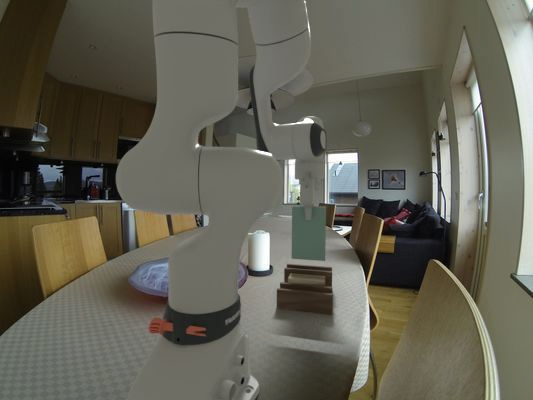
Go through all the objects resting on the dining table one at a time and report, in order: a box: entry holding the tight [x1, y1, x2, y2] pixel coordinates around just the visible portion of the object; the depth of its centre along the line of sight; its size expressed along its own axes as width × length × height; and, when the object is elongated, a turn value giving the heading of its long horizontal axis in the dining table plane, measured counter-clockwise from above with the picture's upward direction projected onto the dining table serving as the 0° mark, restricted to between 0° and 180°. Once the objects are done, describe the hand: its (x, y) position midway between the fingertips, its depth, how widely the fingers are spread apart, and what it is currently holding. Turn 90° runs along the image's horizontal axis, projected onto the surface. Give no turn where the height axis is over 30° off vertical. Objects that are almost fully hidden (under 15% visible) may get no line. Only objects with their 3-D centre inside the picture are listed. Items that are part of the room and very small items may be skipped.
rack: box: [276, 263, 334, 316], centre depth 73 cm, size 17×14×8 cm
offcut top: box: [288, 273, 325, 286], centre depth 73 cm, size 4×10×2 cm, turn 76°
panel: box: [291, 205, 327, 262], centre depth 78 cm, size 2×10×16 cm, turn 76°
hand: (308, 219), depth 78 cm, fingers closed on panel, 2 cm apart
